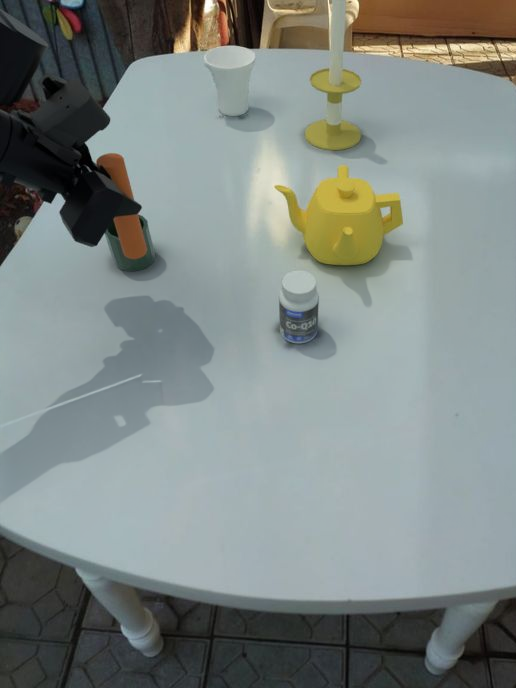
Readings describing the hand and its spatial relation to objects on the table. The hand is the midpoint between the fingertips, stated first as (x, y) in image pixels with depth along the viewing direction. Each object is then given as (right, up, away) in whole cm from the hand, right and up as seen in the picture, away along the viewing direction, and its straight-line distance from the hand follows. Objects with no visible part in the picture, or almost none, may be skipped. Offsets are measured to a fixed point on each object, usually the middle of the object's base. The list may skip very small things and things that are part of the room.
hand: (134, 202), depth 67 cm
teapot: (+24, -2, +17) cm, 30 cm away
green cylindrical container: (-5, -4, +14) cm, 16 cm away
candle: (+23, +21, +37) cm, 49 cm away
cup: (+5, +27, +42) cm, 50 cm away
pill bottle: (+19, -14, +7) cm, 24 cm away
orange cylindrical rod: (-1, -5, +4) cm, 7 cm away
